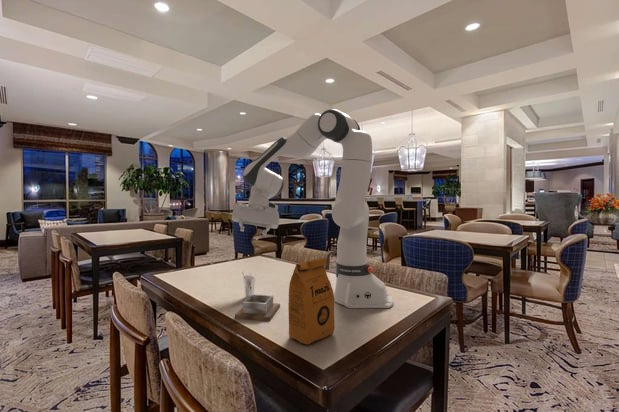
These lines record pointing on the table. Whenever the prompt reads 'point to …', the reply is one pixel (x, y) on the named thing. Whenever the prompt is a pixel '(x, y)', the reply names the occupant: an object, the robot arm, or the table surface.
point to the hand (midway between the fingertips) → (253, 232)
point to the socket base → (258, 308)
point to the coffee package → (310, 302)
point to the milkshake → (249, 284)
